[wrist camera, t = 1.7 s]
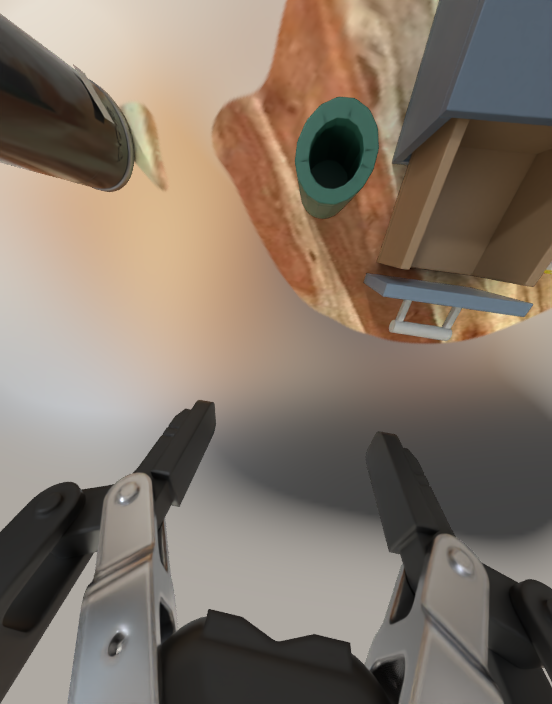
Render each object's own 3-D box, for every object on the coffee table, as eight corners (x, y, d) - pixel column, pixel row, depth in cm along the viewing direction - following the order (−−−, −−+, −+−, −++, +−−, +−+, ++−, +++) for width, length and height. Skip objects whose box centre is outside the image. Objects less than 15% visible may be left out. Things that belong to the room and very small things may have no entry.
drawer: (448, 329, 27) (495, 357, 20) (353, 314, 28) (367, 337, 21) (548, 149, 19) (687, 93, 12) (408, 136, 19) (462, 77, 13)
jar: (296, 215, 24) (290, 199, 16) (305, 154, 22) (303, 93, 13) (343, 221, 24) (363, 208, 15) (357, 159, 21) (391, 100, 13)
